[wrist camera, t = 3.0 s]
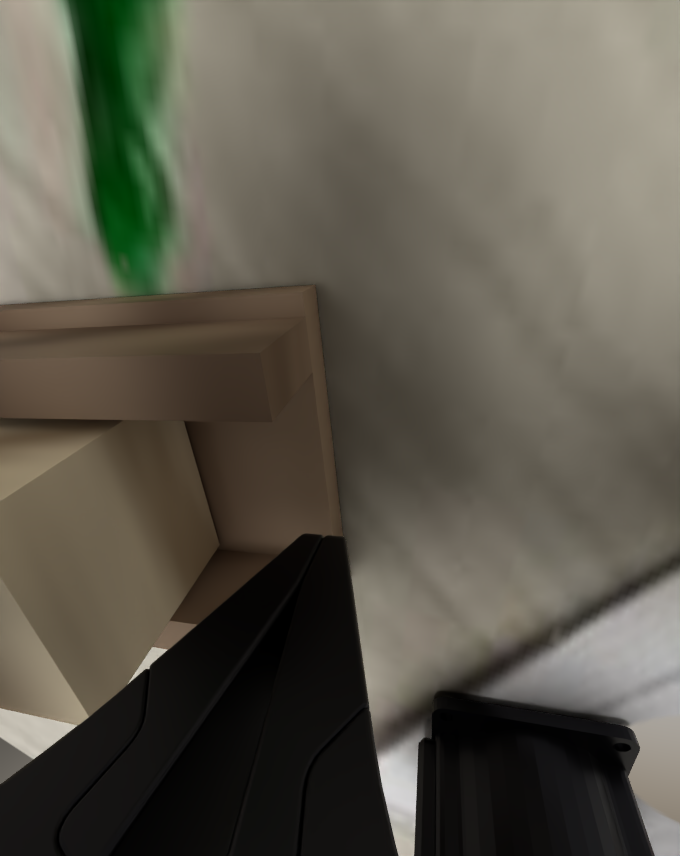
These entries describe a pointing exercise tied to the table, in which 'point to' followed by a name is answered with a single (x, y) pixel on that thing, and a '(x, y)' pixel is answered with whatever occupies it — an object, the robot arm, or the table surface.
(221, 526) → the walnut chute
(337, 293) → the table surface
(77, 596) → the maple block
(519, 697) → the table surface
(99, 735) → the robot arm
